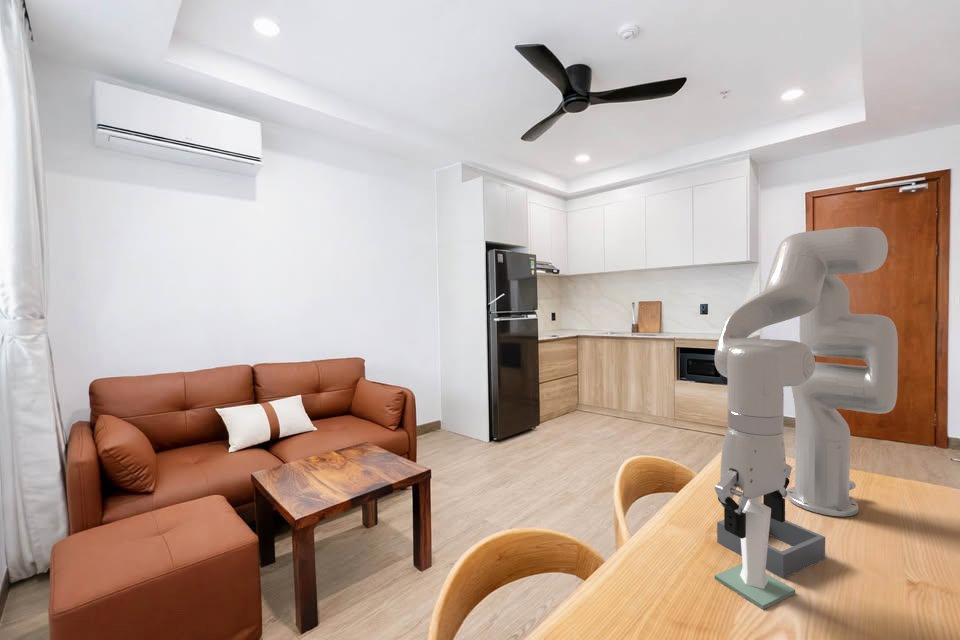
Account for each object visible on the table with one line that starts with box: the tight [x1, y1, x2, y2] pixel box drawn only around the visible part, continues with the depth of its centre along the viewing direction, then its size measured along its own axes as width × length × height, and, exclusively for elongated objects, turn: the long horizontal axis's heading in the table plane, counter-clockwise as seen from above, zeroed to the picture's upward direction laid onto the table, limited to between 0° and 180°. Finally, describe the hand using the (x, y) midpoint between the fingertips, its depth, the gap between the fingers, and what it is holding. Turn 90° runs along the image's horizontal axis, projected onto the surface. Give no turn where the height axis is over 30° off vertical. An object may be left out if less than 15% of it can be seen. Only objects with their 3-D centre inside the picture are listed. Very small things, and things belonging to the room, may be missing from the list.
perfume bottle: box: [740, 495, 771, 589], centre depth 70 cm, size 5×4×15 cm
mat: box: [714, 563, 796, 610], centre depth 70 cm, size 8×8×1 cm
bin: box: [716, 518, 826, 579], centre depth 80 cm, size 12×12×4 cm
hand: (755, 525), depth 70 cm, fingers open, 9 cm apart
